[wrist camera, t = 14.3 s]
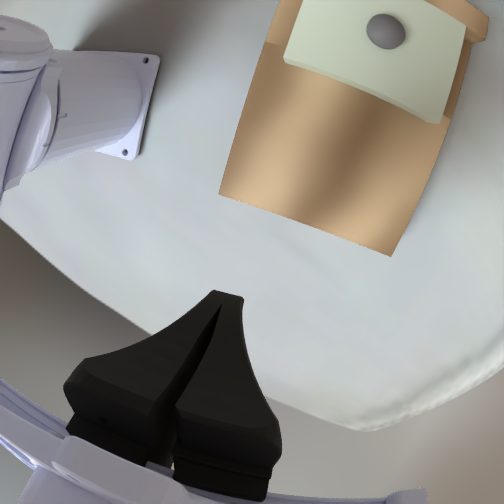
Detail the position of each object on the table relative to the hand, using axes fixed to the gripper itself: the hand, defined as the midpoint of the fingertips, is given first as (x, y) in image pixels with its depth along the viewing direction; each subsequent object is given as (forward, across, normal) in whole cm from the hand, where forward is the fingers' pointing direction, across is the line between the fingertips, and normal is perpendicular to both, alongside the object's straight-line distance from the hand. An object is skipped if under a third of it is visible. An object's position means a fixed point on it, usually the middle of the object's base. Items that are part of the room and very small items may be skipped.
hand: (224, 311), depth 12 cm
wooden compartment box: (+10, -4, -11) cm, 15 cm away
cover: (+8, -5, -14) cm, 17 cm away
